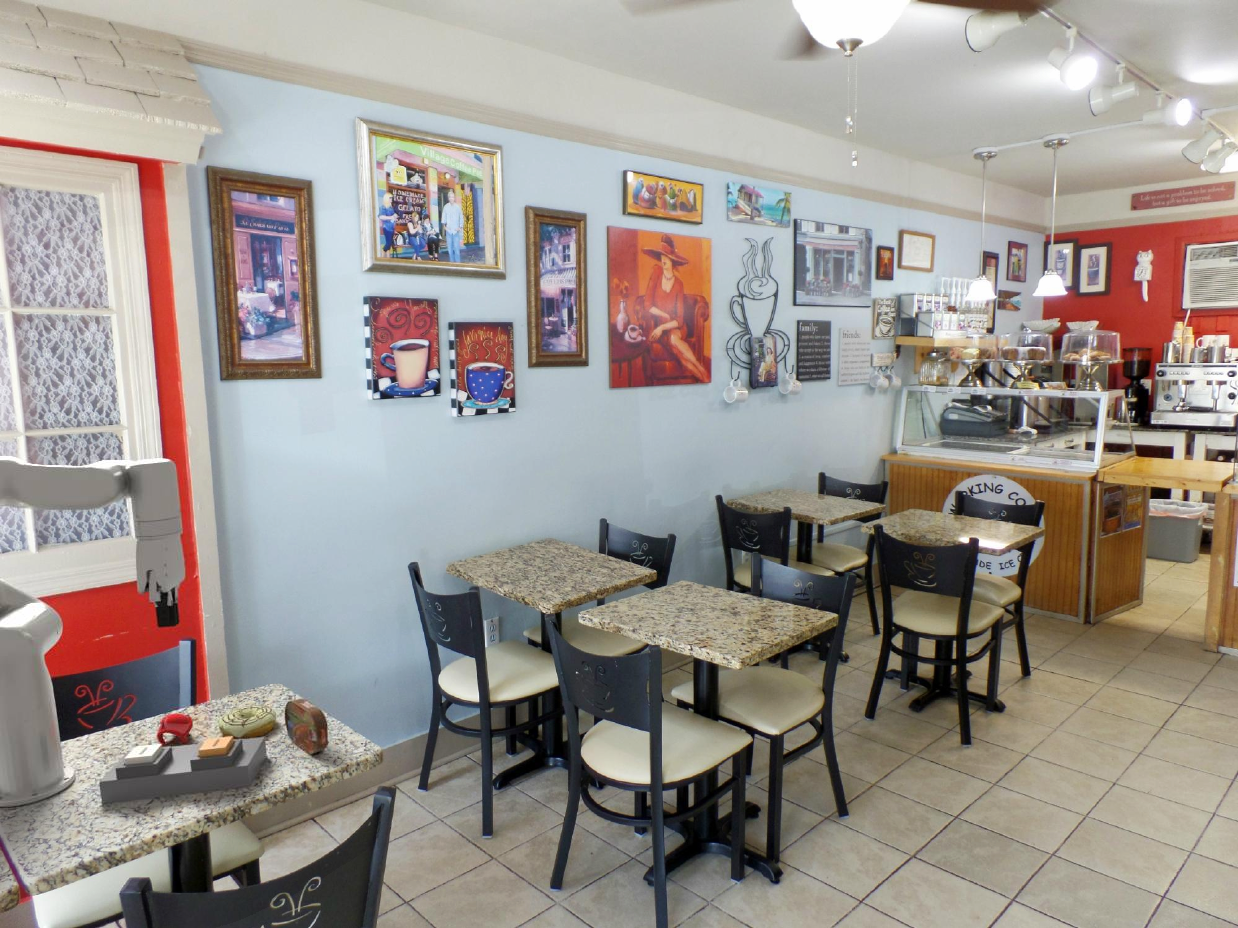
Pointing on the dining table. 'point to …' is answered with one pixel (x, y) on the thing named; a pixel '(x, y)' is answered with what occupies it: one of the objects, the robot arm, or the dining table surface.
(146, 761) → the cream button
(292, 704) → the tin
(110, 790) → the grey button panel
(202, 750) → the orange button
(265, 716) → the decorated donut
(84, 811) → the dining table surface
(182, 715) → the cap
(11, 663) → the robot arm
